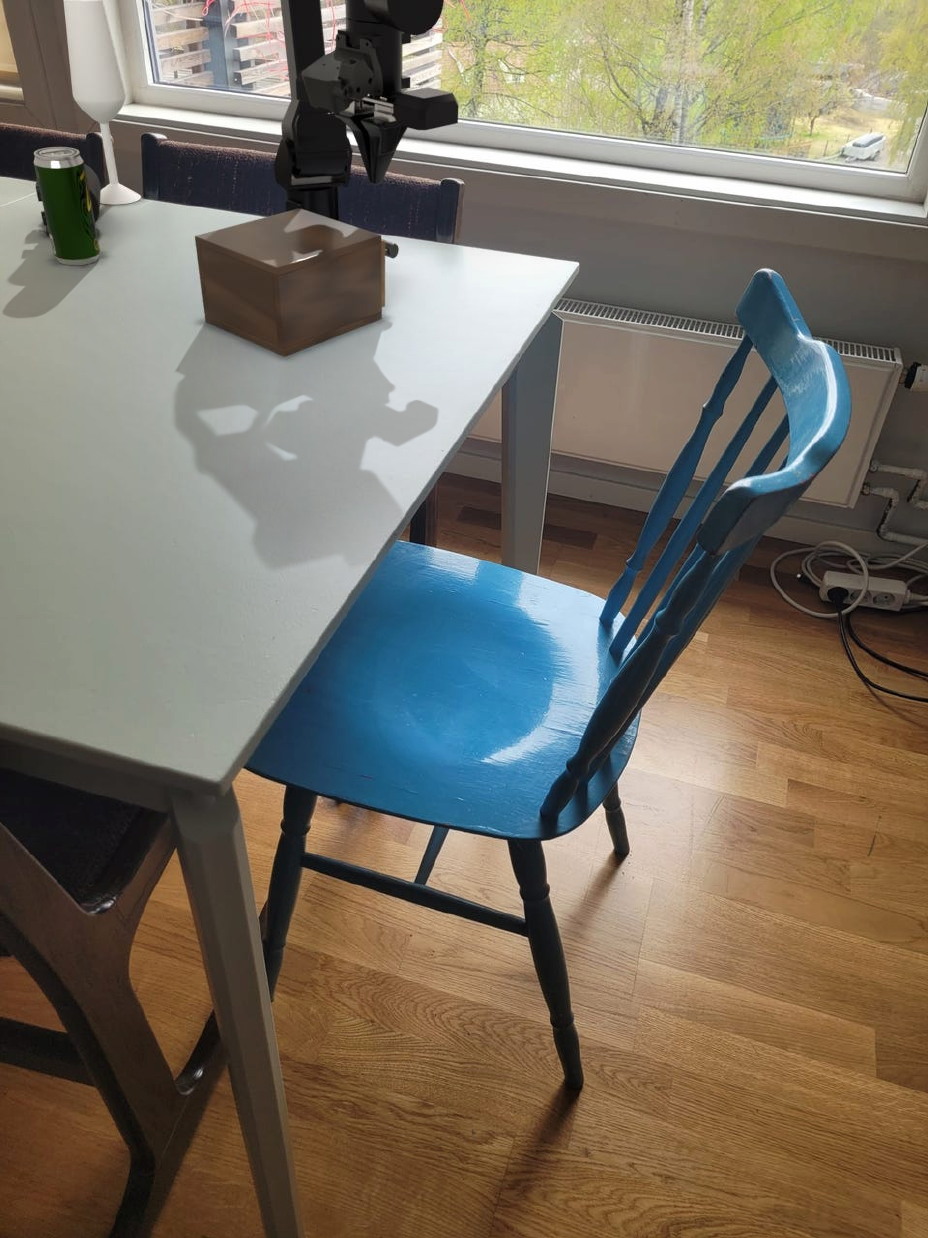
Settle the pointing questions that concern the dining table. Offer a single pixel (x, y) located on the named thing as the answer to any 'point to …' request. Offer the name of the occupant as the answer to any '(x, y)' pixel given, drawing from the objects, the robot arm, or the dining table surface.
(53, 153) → the beer can
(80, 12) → the champagne flute
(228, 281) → the cabinet
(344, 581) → the dining table surface
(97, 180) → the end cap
